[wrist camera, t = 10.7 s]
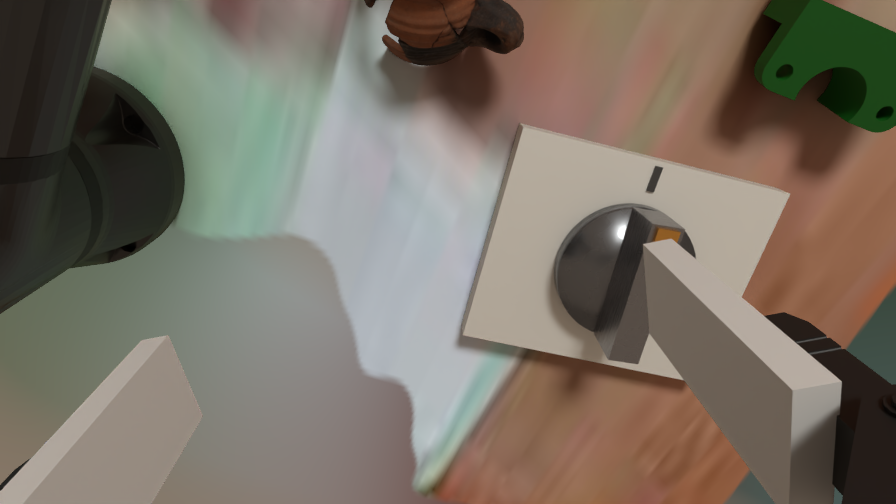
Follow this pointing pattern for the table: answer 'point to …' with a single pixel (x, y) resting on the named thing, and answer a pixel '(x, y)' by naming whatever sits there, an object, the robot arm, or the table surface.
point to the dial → (613, 274)
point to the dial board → (575, 197)
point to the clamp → (832, 60)
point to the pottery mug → (450, 28)
